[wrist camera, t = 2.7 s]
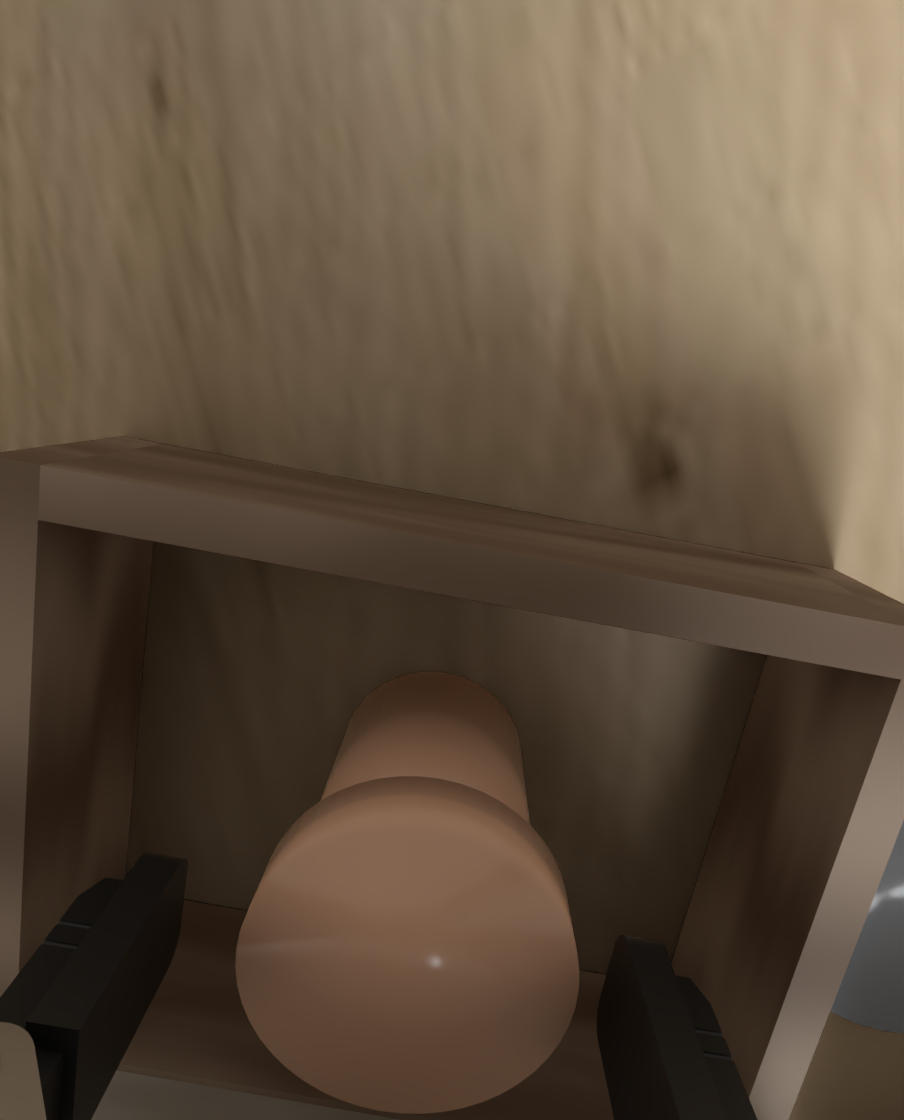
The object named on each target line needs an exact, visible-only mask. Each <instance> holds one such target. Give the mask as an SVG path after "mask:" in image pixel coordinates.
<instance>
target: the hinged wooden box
mask: <svg viewBox="0 0 904 1120" xmlns="http://www.w3.org/2000/svg"><path fill="white" fill-rule="evenodd" d="M153 541H155V542H160V543H166V544H171V545H176V546H182V547H187V548H193V549H198V550H203V551H209V552H214V553H220V554H225V555H230V556H236V557H241V558H247V559H252V560H257V561H263V562H268V563H274V564H279V565H284V566H290V567H295V568H301V569H306V570H311V571H317V572H322V573H328V574H333V575H339V576H344V577H349V578H355V579H360V580H366V581H371V582H376V583H382V584H387V585H393V586H398V587H403V588H409V589H414V590H420V591H425V592H430V593H436V594H441V595H447V596H452V597H457V598H463V599H468V600H474V601H479V602H484V603H490V604H495V605H501V606H506V607H511V608H517V609H522V610H528V611H533V612H538V613H544V614H549V615H555V616H560V617H565V618H571V619H576V620H582V621H587V622H592V623H598V624H603V625H609V626H614V627H619V628H625V629H630V630H636V631H641V632H646V633H652V634H657V635H663V636H668V637H674V638H679V639H684V640H690V641H695V642H701V643H706V644H711V645H717V646H722V647H728V648H733V649H738V650H744V651H749V652H755V653H760V654H765V655H767V658H766V661H765V664H764V667H763V670H762V674H761V677H760V680H759V683H758V687H757V690H756V693H755V696H754V699H753V703H752V706H751V709H750V712H749V715H748V719H747V722H746V725H745V728H744V731H743V735H742V738H741V741H740V744H739V747H738V751H737V754H736V757H735V760H734V764H733V767H732V770H731V773H730V776H729V780H728V783H727V786H726V789H725V792H724V796H723V799H722V802H721V805H720V808H719V812H718V815H717V818H716V821H715V825H714V828H713V831H712V834H711V837H710V841H709V844H708V847H707V850H706V853H705V857H704V860H703V863H702V866H701V869H700V873H699V876H698V879H697V882H696V886H695V889H694V892H693V895H692V898H691V902H690V905H689V908H688V911H687V914H686V918H685V921H684V924H683V927H682V930H681V934H680V937H679V940H678V943H677V946H676V950H675V953H674V956H673V959H672V963H671V965H672V968H673V970H674V973H675V975H676V976H682V977H688V978H690V979H691V980H692V981H693V982H694V984H695V985H696V986H697V987H698V989H699V990H700V991H701V992H702V994H703V995H704V996H705V997H706V999H707V1000H708V1001H709V1002H710V1004H711V1006H712V1008H713V1011H714V1013H715V1016H716V1018H717V1020H718V1023H719V1025H720V1028H721V1030H722V1037H723V1038H725V1040H726V1043H727V1045H728V1048H729V1050H730V1053H731V1055H732V1056H731V1059H732V1061H733V1062H734V1063H735V1065H736V1067H737V1070H738V1072H739V1075H740V1077H741V1080H742V1082H743V1085H744V1087H745V1090H746V1092H747V1095H748V1097H749V1100H750V1102H751V1105H752V1107H753V1110H754V1112H755V1114H756V1117H757V1119H758V1120H789V1117H790V1115H791V1112H792V1109H793V1107H794V1104H795V1102H796V1099H797V1096H798V1094H799V1091H800V1089H801V1086H802V1083H803V1081H804V1078H805V1076H806V1073H807V1070H808V1068H809V1065H810V1063H811V1060H812V1057H813V1055H814V1052H815V1050H816V1047H817V1044H818V1042H819V1039H820V1037H821V1034H822V1031H823V1029H824V1026H825V1024H826V1021H827V1018H828V1016H829V1013H830V1011H831V1008H832V1005H833V1003H834V1000H835V998H836V995H837V992H838V990H839V987H840V985H841V982H842V979H843V977H844V974H845V972H846V969H847V966H848V964H849V961H850V959H851V956H852V953H853V951H854V948H855V946H856V943H857V940H858V938H859V935H860V933H861V930H862V927H863V925H864V922H865V920H866V917H867V914H868V912H869V909H870V907H871V904H872V901H873V899H874V896H875V894H876V891H877V888H878V886H879V883H880V881H881V878H882V875H883V873H884V870H885V868H886V865H887V862H888V860H889V857H890V855H891V852H892V849H893V847H894V844H895V842H896V839H897V836H898V834H899V831H900V829H901V826H902V823H903V821H904V604H902V603H900V602H898V601H896V600H894V599H892V598H890V597H888V596H886V595H884V594H882V593H880V592H878V591H876V590H874V589H872V588H870V587H868V586H866V585H864V584H862V583H860V582H858V581H856V580H854V579H852V578H850V577H848V576H846V575H844V574H842V573H840V572H838V571H836V570H833V569H828V568H822V567H817V566H812V565H806V564H801V563H796V562H790V561H785V560H780V559H774V558H769V557H764V556H758V555H753V554H748V553H742V552H737V551H732V550H726V549H721V548H716V547H710V546H705V545H700V544H694V543H689V542H684V541H678V540H673V539H667V538H662V537H657V536H651V535H646V534H641V533H635V532H630V531H625V530H619V529H614V528H609V527H603V526H598V525H593V524H587V523H582V522H577V521H571V520H566V519H561V518H555V517H550V516H545V515H539V514H534V513H529V512H523V511H518V510H513V509H507V508H502V507H497V506H491V505H486V504H481V503H475V502H470V501H465V500H459V499H454V498H448V497H443V496H438V495H432V494H427V493H422V492H416V491H411V490H406V489H400V488H395V487H390V486H384V485H379V484H374V483H368V482H363V481H358V480H352V479H347V478H342V477H336V476H331V475H326V474H320V473H315V472H310V471H304V470H299V469H294V468H288V467H283V466H278V465H272V464H267V463H262V462H256V461H251V460H246V459H240V458H235V457H229V456H224V455H219V454H213V453H208V452H203V451H197V450H192V449H187V448H181V447H176V446H171V445H165V444H160V443H155V442H149V441H144V440H139V439H133V438H128V437H123V436H120V437H112V438H105V439H97V440H90V441H83V442H75V443H68V444H60V445H53V446H46V447H38V448H31V449H23V450H16V451H8V452H1V453H0V997H1V996H2V994H3V993H4V992H5V991H6V989H7V988H8V987H9V985H10V984H11V983H12V981H13V980H14V979H15V977H16V976H17V975H18V974H19V972H20V971H21V970H22V968H23V967H24V966H25V964H26V963H27V962H28V961H29V959H30V958H31V957H32V955H33V954H34V953H35V951H36V950H37V949H38V947H39V946H40V945H41V944H42V945H43V943H44V941H45V938H46V937H47V936H48V934H49V933H50V932H51V930H52V929H53V928H54V927H55V925H56V924H59V921H60V919H61V917H62V916H63V915H64V913H65V912H66V911H67V910H68V908H69V907H70V906H71V904H72V903H73V902H74V900H75V899H76V898H77V896H78V895H80V894H81V893H83V892H84V891H86V890H87V889H89V888H90V887H92V886H93V885H95V884H96V883H98V882H99V881H101V880H102V879H104V878H105V877H107V878H112V879H118V880H124V879H125V876H126V864H127V852H128V840H129V828H130V816H131V804H132V792H133V780H134V768H135V756H136V744H137V732H138V720H139V708H140V696H141V685H142V673H143V661H144V649H145V637H146V625H147V613H148V601H149V589H150V577H151V565H152V553H153ZM246 914H247V911H244V910H238V909H232V908H227V907H221V906H215V905H210V904H204V903H198V902H193V901H187V900H184V903H183V912H182V921H181V929H180V935H179V939H178V943H177V947H176V950H175V953H174V956H173V959H172V961H171V964H170V966H169V968H168V970H167V972H166V974H165V976H164V978H163V980H162V982H161V984H160V986H159V988H158V990H157V992H156V994H155V996H154V998H153V1000H152V1002H151V1004H150V1006H149V1008H148V1009H147V1011H146V1013H145V1015H144V1017H143V1019H142V1021H141V1023H140V1025H139V1027H138V1029H137V1031H136V1033H135V1035H134V1037H133V1039H132V1041H131V1043H130V1045H129V1047H128V1049H127V1050H126V1052H125V1054H124V1056H123V1058H122V1060H121V1062H120V1064H119V1066H118V1068H117V1070H116V1072H115V1074H114V1076H113V1078H112V1080H111V1082H110V1084H109V1086H108V1088H107V1090H106V1092H105V1093H104V1095H103V1097H102V1099H101V1101H100V1103H99V1105H98V1107H97V1109H96V1111H95V1113H94V1115H93V1117H92V1119H91V1120H614V1117H613V1112H612V1107H611V1102H610V1097H609V1092H608V1088H607V1083H606V1078H605V1073H604V1068H603V1063H602V1059H601V1054H600V1049H599V1044H598V1038H597V1010H598V1004H599V999H600V996H601V992H602V989H603V985H604V982H605V978H606V975H604V974H599V973H593V972H587V971H582V970H579V992H578V997H577V1002H576V1007H575V1010H574V1013H573V1016H572V1019H571V1022H570V1024H569V1027H568V1029H567V1030H566V1032H565V1034H564V1036H563V1038H562V1040H561V1041H560V1043H559V1044H558V1046H557V1047H556V1048H555V1050H554V1051H553V1052H552V1054H551V1055H550V1056H549V1058H548V1059H547V1060H546V1061H545V1062H544V1063H543V1064H542V1065H541V1066H540V1067H539V1068H538V1069H537V1070H536V1071H535V1072H533V1073H532V1074H531V1075H530V1076H528V1077H527V1078H526V1079H524V1080H523V1081H522V1082H520V1083H519V1084H518V1085H516V1086H514V1087H512V1088H511V1089H509V1090H507V1091H506V1092H504V1093H502V1094H500V1095H498V1096H495V1097H493V1098H491V1099H489V1100H486V1101H484V1102H481V1103H478V1104H475V1105H472V1106H468V1107H465V1108H461V1109H456V1110H451V1111H445V1112H437V1113H425V1114H406V1113H393V1112H385V1111H378V1110H374V1109H369V1108H365V1107H360V1106H357V1105H354V1104H351V1103H348V1102H345V1101H342V1100H339V1099H337V1098H335V1097H333V1096H330V1095H328V1094H326V1093H324V1092H322V1091H320V1090H318V1089H316V1088H315V1087H313V1086H311V1085H310V1084H308V1083H306V1082H305V1081H303V1080H302V1079H300V1078H299V1077H298V1076H296V1075H295V1074H294V1073H293V1072H291V1071H290V1070H289V1069H287V1068H286V1067H285V1066H284V1065H283V1064H282V1063H281V1062H280V1061H279V1060H278V1059H277V1058H276V1057H275V1056H274V1055H273V1054H272V1053H271V1052H270V1051H269V1049H268V1048H267V1047H266V1046H265V1044H264V1043H263V1042H262V1041H261V1039H260V1038H259V1037H258V1035H257V1033H256V1032H255V1030H254V1028H253V1027H252V1025H251V1023H250V1021H249V1019H248V1017H247V1014H246V1012H245V1010H244V1007H243V1005H242V1002H241V998H240V994H239V990H238V987H237V978H236V969H235V964H236V948H237V943H238V938H239V933H240V929H241V927H242V924H243V921H244V919H245V916H246Z"/></svg>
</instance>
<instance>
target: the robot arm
mask: <svg viewBox="0 0 904 1120" xmlns="http://www.w3.org/2000/svg"><path fill="white" fill-rule="evenodd" d="M186 876H187V860H186V859H183V858H177V857H172V856H166V855H160V854H154V853H148V852H145V853H143V854H142V855H141V857H140V858H139V859H138V861H137V862H136V864H135V865H134V866H133V868H132V869H131V871H130V872H129V874H128V875H127V876H126V878H125V879H124V880H118V879H112V878H107V877H105V878H104V879H102V880H101V881H99V882H98V883H96V884H95V885H93V886H92V887H90V888H89V889H87V890H86V891H84V892H83V893H81V894H80V895H78V896H77V898H76V899H75V900H74V902H73V903H72V904H71V906H70V907H69V908H68V910H67V911H66V912H65V913H64V915H63V916H62V917H61V919H60V921H59V924H56V925H55V927H54V928H53V929H52V930H51V932H50V933H49V934H48V936H47V937H46V938H45V941H44V943H43V945H42V944H41V945H40V946H39V947H38V949H37V950H36V951H35V953H34V954H33V955H32V957H31V958H30V959H29V961H28V962H27V963H26V964H25V966H24V967H23V968H22V970H21V971H20V972H19V974H18V975H17V976H16V977H15V979H14V980H13V981H12V983H11V984H10V985H9V987H8V988H7V989H6V991H5V992H4V993H3V994H2V996H1V997H0V1120H91V1119H92V1117H93V1115H94V1113H95V1111H96V1109H97V1107H98V1105H99V1103H100V1101H101V1099H102V1097H103V1095H104V1093H105V1092H106V1090H107V1088H108V1086H109V1084H110V1082H111V1080H112V1078H113V1076H114V1074H115V1072H116V1070H117V1068H118V1066H119V1064H120V1062H121V1060H122V1058H123V1056H124V1054H125V1052H126V1050H127V1049H128V1047H129V1045H130V1043H131V1041H132V1039H133V1037H134V1035H135V1033H136V1031H137V1029H138V1027H139V1025H140V1023H141V1021H142V1019H143V1017H144V1015H145V1013H146V1011H147V1009H148V1008H149V1006H150V1004H151V1002H152V1000H153V998H154V996H155V994H156V992H157V990H158V988H159V986H160V984H161V982H162V980H163V978H164V976H165V974H166V972H167V970H168V968H169V966H170V964H171V961H172V959H173V956H174V953H175V950H176V947H177V943H178V939H179V935H180V929H181V921H182V912H183V903H184V894H185V885H186ZM597 1038H598V1044H599V1049H600V1054H601V1059H602V1063H603V1068H604V1073H605V1078H606V1083H607V1088H608V1092H609V1097H610V1102H611V1107H612V1112H613V1117H614V1120H758V1119H757V1117H756V1114H755V1112H754V1110H753V1107H752V1105H751V1102H750V1100H749V1097H748V1095H747V1092H746V1090H745V1087H744V1085H743V1082H742V1080H741V1077H740V1075H739V1072H738V1070H737V1067H736V1065H735V1063H734V1062H733V1061H732V1059H731V1056H732V1055H731V1053H730V1050H729V1048H728V1045H727V1043H726V1040H725V1038H723V1037H722V1030H721V1028H720V1025H719V1023H718V1020H717V1018H716V1016H715V1013H714V1011H713V1008H712V1006H711V1004H710V1002H709V1001H708V1000H707V999H706V997H705V996H704V995H703V994H702V992H701V991H700V990H699V989H698V987H697V986H696V985H695V984H694V982H693V981H692V980H691V979H690V978H688V977H682V976H676V975H675V973H674V970H673V968H672V965H671V962H670V959H669V957H668V954H667V951H666V948H665V946H664V945H663V943H662V942H660V941H655V940H650V939H644V938H638V937H632V936H626V935H620V936H619V937H618V938H617V941H616V943H615V946H614V950H613V953H612V957H611V960H610V964H609V968H608V971H607V975H606V978H605V982H604V985H603V989H602V992H601V996H600V999H599V1004H598V1010H597Z"/></svg>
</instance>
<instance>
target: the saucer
mask: <svg viewBox="0 0 904 1120" xmlns="http://www.w3.org/2000/svg"><path fill="white" fill-rule="evenodd" d="M830 1012H832V1013H834V1014H836V1015H838V1016H840V1017H842V1018H844V1019H846V1020H849V1021H851V1022H854V1023H857V1024H860V1025H862V1026H865V1027H869V1028H874V1029H878V1030H882V1031H888V1032H896V1033H904V821H903V823H902V826H901V829H900V831H899V834H898V836H897V839H896V842H895V844H894V847H893V849H892V852H891V855H890V857H889V860H888V862H887V865H886V868H885V870H884V873H883V875H882V878H881V881H880V883H879V886H878V888H877V891H876V894H875V896H874V899H873V901H872V904H871V907H870V909H869V912H868V914H867V917H866V920H865V922H864V925H863V927H862V930H861V933H860V935H859V938H858V940H857V943H856V946H855V948H854V951H853V953H852V956H851V959H850V961H849V964H848V966H847V969H846V972H845V974H844V977H843V979H842V982H841V985H840V987H839V990H838V992H837V995H836V998H835V1000H834V1003H833V1005H832V1008H831V1011H830Z"/></svg>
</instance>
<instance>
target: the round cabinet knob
mask: <svg viewBox="0 0 904 1120" xmlns="http://www.w3.org/2000/svg"><path fill="white" fill-rule="evenodd" d="M235 969H236V978H237V987H238V990H239V994H240V998H241V1002H242V1005H243V1007H244V1010H245V1012H246V1014H247V1017H248V1019H249V1021H250V1023H251V1025H252V1027H253V1028H254V1030H255V1032H256V1033H257V1035H258V1037H259V1038H260V1039H261V1041H262V1042H263V1043H264V1044H265V1046H266V1047H267V1048H268V1049H269V1051H270V1052H271V1053H272V1054H273V1055H274V1056H275V1057H276V1058H277V1059H278V1060H279V1061H280V1062H281V1063H282V1064H283V1065H284V1066H285V1067H286V1068H287V1069H289V1070H290V1071H291V1072H293V1073H294V1074H295V1075H296V1076H298V1077H299V1078H300V1079H302V1080H303V1081H305V1082H306V1083H308V1084H310V1085H311V1086H313V1087H315V1088H316V1089H318V1090H320V1091H322V1092H324V1093H326V1094H328V1095H330V1096H333V1097H335V1098H337V1099H339V1100H342V1101H345V1102H348V1103H351V1104H354V1105H357V1106H360V1107H365V1108H369V1109H374V1110H378V1111H385V1112H393V1113H406V1114H425V1113H437V1112H445V1111H451V1110H456V1109H461V1108H465V1107H468V1106H472V1105H475V1104H478V1103H481V1102H484V1101H486V1100H489V1099H491V1098H493V1097H495V1096H498V1095H500V1094H502V1093H504V1092H506V1091H507V1090H509V1089H511V1088H512V1087H514V1086H516V1085H518V1084H519V1083H520V1082H522V1081H523V1080H524V1079H526V1078H527V1077H528V1076H530V1075H531V1074H532V1073H533V1072H535V1071H536V1070H537V1069H538V1068H539V1067H540V1066H541V1065H542V1064H543V1063H544V1062H545V1061H546V1060H547V1059H548V1058H549V1056H550V1055H551V1054H552V1052H553V1051H554V1050H555V1048H556V1047H557V1046H558V1044H559V1043H560V1041H561V1040H562V1038H563V1036H564V1034H565V1032H566V1030H567V1029H568V1027H569V1024H570V1022H571V1019H572V1016H573V1013H574V1010H575V1007H576V1002H577V997H578V992H579V963H578V955H577V949H576V943H575V938H574V932H573V927H572V922H571V916H570V911H569V905H568V900H567V894H566V889H565V886H564V882H563V879H562V875H561V872H560V870H559V867H558V865H557V863H556V861H555V859H554V856H553V855H552V853H551V851H550V850H549V848H548V847H547V845H546V844H545V842H544V840H543V839H542V838H541V837H540V836H539V834H538V833H537V832H536V831H535V830H534V829H533V827H532V826H531V825H530V820H529V812H528V804H527V797H526V789H525V781H524V774H523V766H522V758H521V751H520V743H519V737H518V734H517V730H516V727H515V725H514V723H513V720H512V718H511V717H510V715H509V713H508V712H507V710H506V709H505V707H504V706H503V705H502V704H501V703H500V701H499V700H498V699H497V698H496V697H494V696H493V695H492V694H491V693H490V692H489V691H487V690H486V689H485V688H483V687H482V686H480V685H478V684H476V683H475V682H473V681H471V680H468V679H466V678H463V677H461V676H457V675H453V674H449V673H442V672H418V673H411V674H407V675H403V676H400V677H397V678H395V679H392V680H390V681H388V682H386V683H385V684H383V685H381V686H379V687H378V688H377V689H375V690H374V691H373V692H371V693H370V694H369V695H368V696H367V697H366V698H365V699H364V700H363V701H362V703H361V704H360V705H359V706H358V708H357V709H356V711H355V712H354V714H353V716H352V718H351V720H350V723H349V725H348V728H347V730H346V733H345V736H344V738H343V741H342V744H341V746H340V749H339V752H338V755H337V757H336V760H335V763H334V765H333V768H332V771H331V773H330V776H329V779H328V781H327V784H326V787H325V789H324V792H323V795H322V798H321V800H320V801H319V802H318V803H317V804H315V805H314V806H313V807H311V808H310V809H308V810H307V811H306V812H305V813H304V814H302V815H301V816H300V817H299V818H298V819H297V820H296V821H295V822H294V823H293V824H292V825H291V827H290V828H289V829H288V830H287V832H286V833H285V834H284V835H283V837H282V838H281V840H280V841H279V843H278V845H277V847H276V848H275V850H274V852H273V853H272V856H271V858H270V860H269V863H268V865H267V867H266V870H265V872H264V874H263V877H262V879H261V881H260V883H259V886H258V888H257V890H256V893H255V895H254V897H253V900H252V902H251V904H250V907H249V909H248V911H247V914H246V916H245V919H244V921H243V924H242V927H241V929H240V933H239V938H238V943H237V948H236V964H235Z"/></svg>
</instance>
